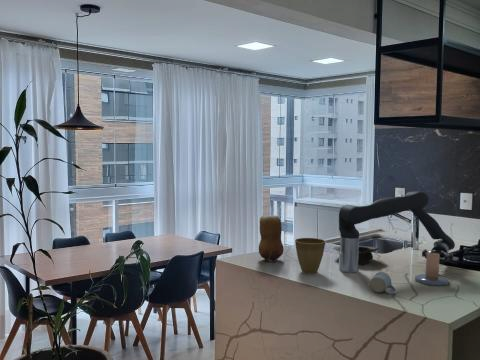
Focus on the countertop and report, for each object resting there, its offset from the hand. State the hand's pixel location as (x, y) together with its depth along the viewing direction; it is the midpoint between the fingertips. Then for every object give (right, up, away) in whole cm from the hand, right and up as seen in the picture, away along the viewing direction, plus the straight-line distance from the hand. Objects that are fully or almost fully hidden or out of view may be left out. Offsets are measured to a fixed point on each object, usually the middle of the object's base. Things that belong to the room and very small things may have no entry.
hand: (435, 257), depth 229 cm
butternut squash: (-79, -6, +26) cm, 83 cm away
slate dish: (-5, -10, -8) cm, 13 cm away
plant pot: (-61, -8, +5) cm, 62 cm away
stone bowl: (-32, -7, +29) cm, 44 cm away
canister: (-5, -9, -8) cm, 13 cm away
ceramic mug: (-33, -11, -24) cm, 42 cm away
